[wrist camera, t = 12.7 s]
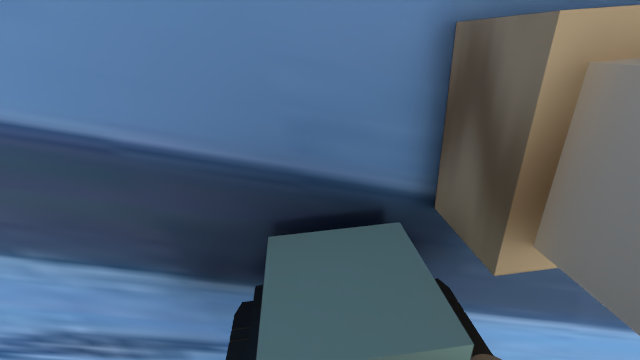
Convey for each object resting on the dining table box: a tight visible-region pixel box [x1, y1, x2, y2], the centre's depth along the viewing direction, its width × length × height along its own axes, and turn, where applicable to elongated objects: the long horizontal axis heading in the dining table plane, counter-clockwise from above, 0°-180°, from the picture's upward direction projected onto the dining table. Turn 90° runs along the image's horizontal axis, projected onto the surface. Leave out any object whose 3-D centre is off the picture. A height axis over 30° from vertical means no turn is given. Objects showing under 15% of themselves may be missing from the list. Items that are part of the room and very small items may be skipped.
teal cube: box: [256, 222, 474, 360], centre depth 10 cm, size 5×5×5 cm
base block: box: [435, 5, 640, 276], centre depth 9 cm, size 7×7×4 cm
